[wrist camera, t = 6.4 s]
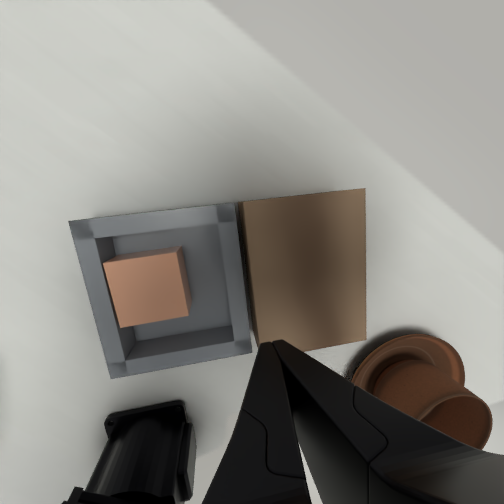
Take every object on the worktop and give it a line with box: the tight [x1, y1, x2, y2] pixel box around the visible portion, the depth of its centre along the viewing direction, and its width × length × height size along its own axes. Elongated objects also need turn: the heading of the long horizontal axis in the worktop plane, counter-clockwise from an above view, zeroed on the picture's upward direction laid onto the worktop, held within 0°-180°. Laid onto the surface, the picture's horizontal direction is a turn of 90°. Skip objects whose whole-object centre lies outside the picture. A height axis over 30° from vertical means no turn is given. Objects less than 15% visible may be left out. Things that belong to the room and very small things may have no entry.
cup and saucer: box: [351, 334, 492, 450], centre depth 22 cm, size 12×12×6 cm
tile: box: [103, 246, 192, 328], centre depth 17 cm, size 4×4×2 cm
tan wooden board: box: [238, 188, 366, 352], centre depth 18 cm, size 8×11×4 cm
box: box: [68, 203, 252, 379], centre depth 18 cm, size 10×11×3 cm
